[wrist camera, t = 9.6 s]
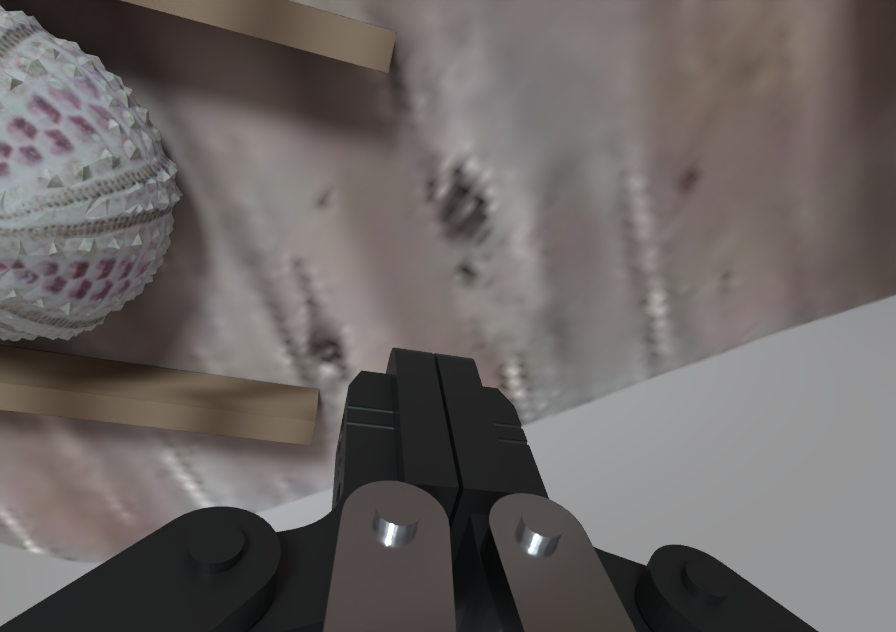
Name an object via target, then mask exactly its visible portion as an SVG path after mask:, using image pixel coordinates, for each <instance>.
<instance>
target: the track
mask: <svg viewBox="0 0 896 632" xmlns="http://www.w3.org/2000/svg"><path fill="white" fill-rule="evenodd" d="M121 1H125V2H129V3H132V4H136V5H140V6H143V7H147V8H151V9H154V10H158V11H162V12H165V13H169V14H173V15H176V16H180V17H184V18H187V19H191V20H195V21H198V22H202V23H206V24H209V25H213V26H217V27H220V28H224V29H228V30H231V31H235V32H239V33H242V34H246V35H250V36H253V37H257V38H261V39H264V40H268V41H272V42H275V43H279V44H283V45H286V46H290V47H294V48H298V49H301V50H305V51H309V52H312V53H316V54H320V55H323V56H327V57H331V58H334V59H338V60H342V61H345V62H349V63H353V64H356V65H360V66H364V67H367V68H371V69H375V70H378V71H382V72H386V73H388V72H389V67H390V62H391V57H392V52H393V48H394V43H395V38H396V33H397V32H394V31H392V30H388V29H385V28H381V27H378V26H375V25H371V24H368V23H364V22H361V21H357V20H354V19H350V18H347V17H344V16H340V15H337V14H333V13H330V12H326V11H323V10H319V9H316V8H313V7H309V6H306V5H302V4H299V3H295V2H292V1H288V0H121ZM318 393H319V389H312V388H305V387H298V386H291V385H284V384H276V383H269V382H262V381H255V380H247V379H240V378H233V377H226V376H218V375H211V374H204V373H197V372H189V371H182V370H175V369H168V368H161V367H153V366H146V365H139V364H132V363H124V362H117V361H110V360H103V359H95V358H88V357H81V356H74V355H66V354H59V353H52V352H45V351H38V350H30V349H23V348H16V347H9V346H1V345H0V410H8V411H16V412H25V413H34V414H42V415H51V416H60V417H68V418H77V419H86V420H94V421H103V422H112V423H120V424H129V425H138V426H146V427H155V428H164V429H172V430H181V431H190V432H198V433H207V434H216V435H224V436H233V437H242V438H250V439H259V440H268V441H276V442H285V443H294V444H302V445H311V443H312V439H313V434H314V429H315V424H316V416H317V404H318Z"/></svg>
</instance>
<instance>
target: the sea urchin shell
mask: <svg viewBox="0 0 896 632" xmlns="http://www.w3.org/2000/svg"><path fill="white" fill-rule="evenodd" d="M176 166H177V165H176V164H174V163H173V162H172V161H171V160H170V159H168V157H167V156H166V155H165V154H164V152H163V149H162V147H161V137H160V133H159V131H158V130H157V129H156V128H154V127H153V125H152V123H151V122H150V120H149V113H148V110H147V109H145V108H143V107H142V106H140V105H139V104H137V103H136V100H135V96H134V93H133V90H132V89H130V88H127V87H125V86H123V83H122V80H121V77H119V76H116V75H114V74H113V73H110V72H108V71H106V69H105V68H104V66H103V64H102V63H101V61H100V59H99V58H98V56H93V55H89V54H85V53H84V52H83V51H81V49H80V48H79V46H78V44H77V42H71V41H67V40H64V39H58V38H56V37H54V36H53V35H52V34H50V33H49V32H47V31H46V30H44V29H43V28H42V27H41V25H40V24H39V23H38V21H37V20H36V18H35V17H34V16H27V15H26V14H25V13H24V12H23V11H5V10H4V9H3V8H2V7H1V6H0V338H1V339H2V340H7V339H10V340H11V341H19V340H20V339H21V338H24V339H26V340H34V339H35V338H37V337H38V336H41V337H46V338H49V339H52V340H54V339H56V338H61V339H64V340H69V339H70V338H71V337H72V336H75V337H77V335H78V334H79V333H81V332H82V331H92V330H93V329H94V328H95V327H96V325H99V324H103V323H104V320H105V318H106V315H107V314H108V313H109V312H110V311H121V309H122V307H123V305H124V304H125V302H126V301H130V300H133V299H134V298H135V296H137V295H139V294H142V293H143V290H144V286H145V284H146V283H150V282H153V276H152V274H156V272H157V268H159V267H161V266H162V264H163V255H164V254H166V253H167V251H166V250H167V249H168V248H169V247H170V245H171V240H170V237H169V234H170V233H171V232H172V231H173V227H172V225H173V223H174V222H175V221H174V218H173V216H172V209H173V207H174V205H175V204H176V203H177V202H178V201H179V200H180V197H181V196H182V195H183V194H182V192H181V191H180V190H179V188H178V187H177V186H176V184H175V180H174V179H175V176H176V174H177V171H178V170H177V169H176Z"/></svg>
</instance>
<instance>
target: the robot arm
mask: <svg viewBox="0 0 896 632" xmlns="http://www.w3.org/2000/svg"><path fill="white" fill-rule="evenodd" d="M334 475H335V477H334V487H333V501H332V511H331V512H330V513H329V514H327V515H326V516H325V517H324V518H322V519H320V520H318V521H317V522H315V523H312V524H309V525H307V526H304V527H300V528H296V529H292V530H286V531H281V532H275V531H274V529H273V528H272V527H271V525H270V524H269V523H267V522H266V521H265V520H264V519H263V518H261V517H260V516H258V515H256V514H254V513H252V512H249V511H247V510H243V509H239V508H234V507H209V508H203V509H199V510H195V511H192V512H189V513H187V514H184V515H182V516H180V517H178V518H176V519H174V520H173V521H171V522H169V523H168V524H166V525H164V526H163V527H161V528H160V529H158V530H156V531H155V532H153V533H151V534H150V535H148V536H147V537H145V538H143V539H142V540H140V541H138V542H137V543H135V544H134V545H132V546H130V547H129V548H127V549H125V550H124V551H122V552H121V553H119V554H117V555H116V556H114V557H112V558H111V559H109V560H108V561H106V562H104V563H103V564H101V565H99V566H98V567H96V568H95V569H93V570H91V571H90V572H88V573H86V574H85V575H83V576H82V577H80V578H78V579H77V580H75V581H74V582H72V583H70V584H69V585H67V586H65V587H64V588H62V589H60V590H59V591H57V592H56V593H54V594H52V595H51V596H49V597H47V598H46V599H44V600H43V601H41V602H39V603H38V604H36V605H34V606H33V607H31V608H30V609H28V610H26V611H25V612H23V613H22V614H20V615H18V616H17V617H15V618H13V619H12V620H10V621H8V622H7V623H5V624H4V625H2V626H1V627H0V632H818V631H816V630H815V629H814V628H812V627H811V626H810V625H808V624H807V623H805V622H804V621H803V620H801V619H800V618H798V617H797V616H796V615H794V614H793V613H792V612H790V611H789V610H787V609H786V608H784V607H783V606H782V605H780V604H779V603H778V602H776V601H775V600H773V599H772V598H771V597H769V596H768V595H766V594H765V593H763V592H762V591H761V590H759V589H758V588H757V587H755V586H754V585H752V584H751V583H750V582H748V581H747V580H745V579H744V578H742V577H741V576H740V575H738V574H737V573H736V572H734V571H733V570H731V569H730V568H729V567H727V566H726V565H724V564H723V563H722V562H720V561H718V560H717V559H716V558H714V557H712V556H710V555H709V554H707V553H705V552H702V551H700V550H698V549H695V548H691V547H688V546H683V545H666V546H663V547H661V548H659V549H657V550H656V551H655V552H654V553H653V555H652V556H651V558H650V560H649V562H648V564H647V566H645V565H642V564H639V563H636V562H634V561H631V560H628V559H625V558H622V557H619V556H616V555H613V554H611V553H607V552H605V551H602V550H600V549H597V548H595V547H593V546H592V543H591V541H590V539H589V538H588V535H587V533H586V532H585V530H584V528H583V527H582V525H581V524H580V522H579V521H578V520H577V519H576V518H575V517H574V516H573V515H572V514H571V513H570V512H569V511H568V510H566V509H565V508H564V507H562V506H561V505H559V504H557V503H556V502H554V501H552V500H549V498H548V495H547V492H546V489H545V487H544V484H543V482H542V479H541V476H540V474H539V471H538V468H537V465H536V463H535V460H534V458H533V455H532V452H531V449H530V447H529V445H527V439H526V436H525V433H524V431H523V429H521V423H520V420H519V417H518V415H517V412H516V409H515V407H514V405H513V404H512V403H511V402H510V401H509V400H508V399H507V398H506V397H505V396H504V395H503V394H502V393H501V392H500V391H499V389H498V388H491V387H483V386H482V383H481V380H480V377H479V373H478V370H477V367H476V364H475V361H474V359H472V358H465V357H458V356H451V355H443V354H436V353H435V354H433V353H428V352H421V351H414V350H407V349H400V348H393V349H392V351H391V353H390V357H389V361H388V366H387V371H386V374H383V373H376V372H368V371H361V372H360V373H359V374H358V375H357V376H356V378H355V379H354V380H353V381H352V382H351V383H350V385H349V387H348V392H347V398H346V403H345V408H344V414H343V419H342V424H341V429H340V435H339V440H338V445H337V451H336V460H335V474H334Z"/></svg>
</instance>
